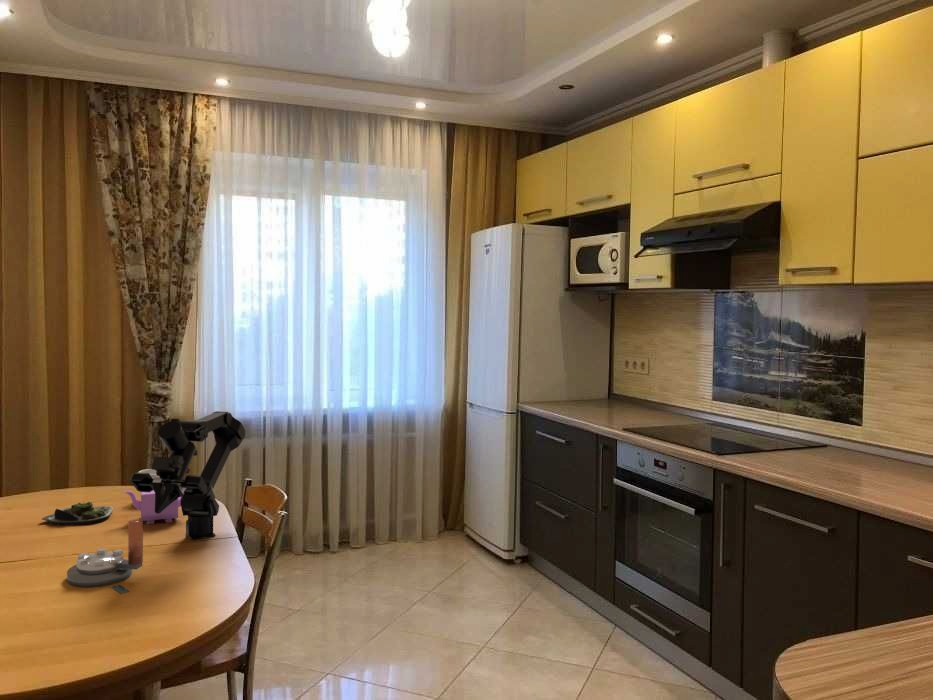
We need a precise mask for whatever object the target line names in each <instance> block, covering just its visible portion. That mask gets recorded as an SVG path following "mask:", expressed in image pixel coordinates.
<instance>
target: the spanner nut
mask: <svg viewBox="0 0 933 700" xmlns="http://www.w3.org/2000/svg"><path fill="white" fill-rule="evenodd" d="M127 524H128V527H127V534H128V535H127V536H128V537H127V541H128V542H127V543H128V544H127V549H128V550H127V553H128V554H127V557H128V558H127V560H123V559H124V551H123V550H122V549H120V548H118V549H114V550H112V551H107V550H106V549H107V548H105V547H104V548H97V550H96V552H93V553H89V552H81V553H80V554H78V555H77V559H76V564H77V571H78V572H79V573H82V574H102V573H107V572H111V571H114V570H117V569H119V568H122V569H132V570H136V571H137V570H138V569H140V568H141V567H143V563H144V521H143V520H141V518H140V519H139V518H135V519H131V520H129V521H128V523H127Z"/></svg>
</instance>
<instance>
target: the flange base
mask: <svg viewBox="0 0 933 700" xmlns="http://www.w3.org/2000/svg"><path fill="white" fill-rule="evenodd" d="M123 560H128V558H127V559H126V558H123ZM132 574H133V569H122V568H119V569H117V570H114V571H111V572H107V573H102V574H82V573H79V572H78V571H77V563H76V564H75V565H72V566H71V567H69V568H68V569H67V571H66V583H67V584H69V585H71V586H73V587H79V588H98V587H105V586H110V585H113V586H111V588H112V589H113V590H115V591H116V592H118V593H120V594H124V593H129V592H130V590H129V589H128V588H125V587H124V586H123V585H121V584H118V585H114V584H117V583H120V582H122V581H125V580H126V579H128V578H130V577H131V575H132Z"/></svg>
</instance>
